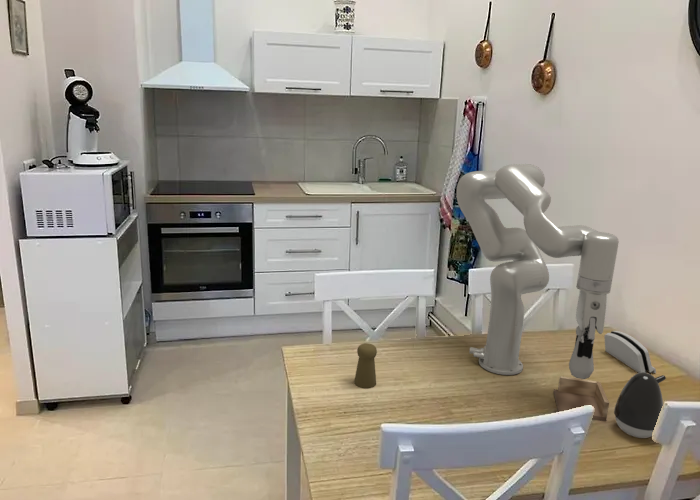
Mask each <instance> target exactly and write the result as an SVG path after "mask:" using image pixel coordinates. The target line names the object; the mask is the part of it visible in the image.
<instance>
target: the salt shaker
mask: <svg viewBox="0 0 700 500" xmlns="http://www.w3.org/2000/svg"><path fill="white" fill-rule="evenodd" d="M585 330H588V329H587V328H585ZM581 334H582V331H581V329H580V327H579V326H576V328H575V336H576V335H577V336H578V338H577V341H576V340H575V342H576V344H574V347H573V351H572V353H571V356H570V359H569V362H568V368H569V372H570V375H571V376H573V378H576V379H583V380H588V379H589V378H590V377H591V376H592V374H593V372H594V371H595V365H594V356H593V355H594V353H593V350H592V356H591V358H590V359H588V357H585V356H583V357H582V358H581V357H578V356H577V351H578V345H579V341H581ZM585 335H588V334H587V333H585Z"/></svg>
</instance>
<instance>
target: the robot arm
mask: <svg viewBox="0 0 700 500" xmlns="http://www.w3.org/2000/svg"><path fill="white" fill-rule="evenodd" d="M545 180H546V177H545V174H544V172H543V171H542V170H541V169H540V167H538V166H536V165H534V164H526V163H525V164H522V163H521V164H515V163H513V164H508V165H507V164H506V165H504V166H502V167H500V168H499V169H498V170H476V171H471V172H470V171H469V172H467V173H465V174H464V175H462V176H461V177H460V178H459V180H458V182H457V186H456V199H457V204H458V206H459V209H460V210H461V213H462V214H463V216H464V217H465V219H466V220H467V222H468V224H469V225H470V228H471V230H472V232H473V235H474V238H475V239H476V241H477V243H478V246H479V248H480V250H481V252H482V254H483V256H484V257H485V259H486V260H487V261H490V262H492V263H493V262H503V263H500V264H497V265H496V266H495V267H494V268H493V269H492V270H491V273H490V277H489V280H490V281H489V283H490V306H489V307H490V308H489V309H490V310H489V316H488V317H489V319H488V327H487V336H486V342H485V343H486V344H484V346H483V347H480V348H476V347H472V346H470V347H469V354H470V355H473V358H478V364H479V366H480V367H481V368H482V369H484V370H486V371H487V372H490V373H493V374H497V375H502V376H513V375H518V374H520V373H521V372H522V371H523V370H524V365H523V363H522V361H521V360H520V359H519V357H520V349H521V343H522V341H521V340H522V335H523V327H524V321H525V311H526V310H525V306H524V303H523V300H522V295H525V294H530V293H531V294H532V293H536V292H539V291H542V290H544V289H545V288H546V287H547V286H548V284H549V282H550V274H549V273H550V272H549V269H548V266H547V263H546V262H545V260H544V258H543V256H542V254H541V252H542V253H544V254H545V255H546V256H548V257H550V258H554V259H561V258H567V257H568V258H570V257H579V256H580V261H579V268H578V275H577V281H576V289H577V290H579V294H578V299H577V305H576V312H575V320H576V323H577V325H578V326H579V327H580V329H581V331H582V334H581V341H579V345H578V351H577V356H578V357H581V358H582V357H583V356H585V357H588V359H590V358H591V356H592V350H593V348H594V343H595V337H596V332H597V334H598V335H602V334H603V333H604V329H605V327H604V326H605V322H606V321H605V319H606V312H607V310H606V309H607V298H608V297H607V295H608V294H610V293H611V289H612V284H613V278H614V273H615V272H614V271H615V266H616V261H617V255H618V248H619V244H620V243H619V242H620V241H619V238H618V236H617V235H615V234H612V233H609V232H605V231H598V230H596V229H594V228H592V227H589V226H587V225H582V224H580V225H578V224H577V225H564V226H556V225H555V224H554V223H553V222H552V221H551V220H550V218H548V217H547V216H546V215H545V212H546V211H547V209H548V208H549V207H550V205H551V201H552V200H551V199H552V197H551V195H550V193H549V192H548V191H547V190H545V189H544V186H545V182H546V181H545ZM499 199H500V200H501V199H502V200H503V199H507V200H508V201H509V202H510V204H512V205H513V207H515V209H516V210H517V211H518V212H519V213H521V214H522V216H523V224H524V225H523V226H524V229H523V228H521V227H505V225H503V223H502V221H501V219H500V216H499V215H498V213H497V212H496V210H495V209H494V208H493V207H492V206H491V205H490V204H488V203H487V202H486V201H485V200H499ZM540 251H541V252H540ZM504 261H506V262H504ZM578 326H577V327H578ZM585 328H587V329H588V330H585ZM585 333H587V334H588V335H585ZM577 338H578V336H577V335H576V334H575V344H576V341H577ZM575 344H574V345H575Z"/></svg>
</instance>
